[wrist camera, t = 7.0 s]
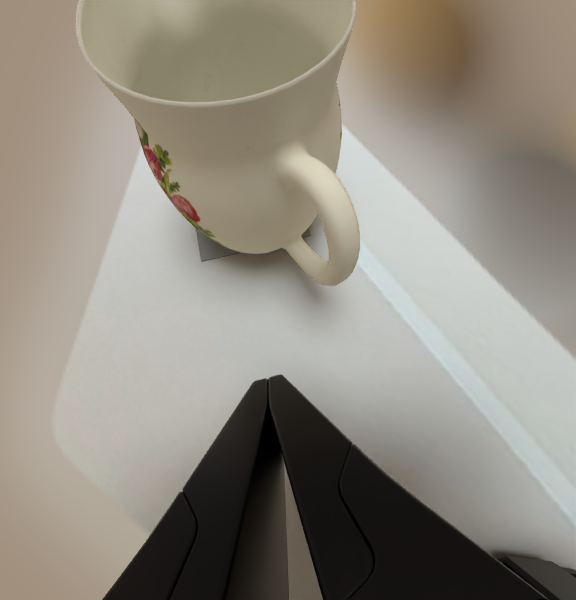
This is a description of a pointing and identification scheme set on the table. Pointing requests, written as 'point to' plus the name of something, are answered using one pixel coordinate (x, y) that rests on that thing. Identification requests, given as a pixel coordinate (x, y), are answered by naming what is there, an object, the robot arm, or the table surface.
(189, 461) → the table surface
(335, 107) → the pitcher
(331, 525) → the robot arm
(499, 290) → the table surface
